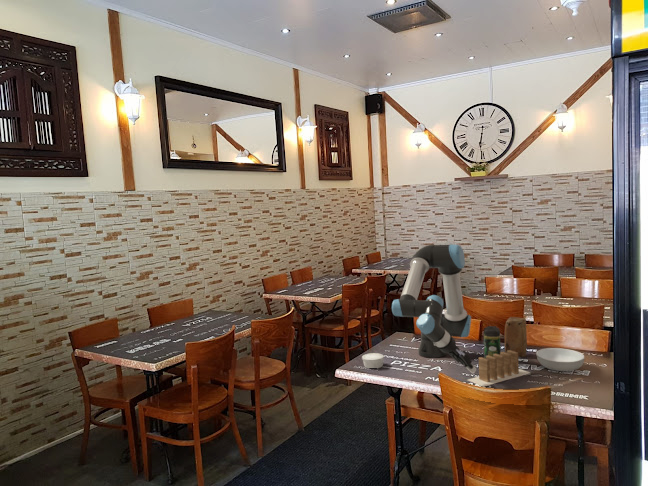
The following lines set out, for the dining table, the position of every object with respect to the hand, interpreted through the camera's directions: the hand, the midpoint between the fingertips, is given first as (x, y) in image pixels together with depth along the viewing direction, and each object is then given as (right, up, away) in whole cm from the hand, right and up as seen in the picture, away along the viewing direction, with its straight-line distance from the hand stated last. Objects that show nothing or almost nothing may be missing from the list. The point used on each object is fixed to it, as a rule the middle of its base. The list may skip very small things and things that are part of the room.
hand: (474, 371), depth 215 cm
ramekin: (-42, -7, +34) cm, 54 cm away
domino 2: (+10, -5, +5) cm, 12 cm away
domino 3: (+14, -4, +7) cm, 16 cm away
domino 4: (+18, -4, +9) cm, 20 cm away
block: (+34, -2, +38) cm, 51 cm away
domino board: (+14, -5, +7) cm, 16 cm away
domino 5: (+22, -4, +11) cm, 25 cm away
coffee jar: (+18, -4, +28) cm, 33 cm away
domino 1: (+6, -5, +3) cm, 8 cm away
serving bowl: (+46, -3, +16) cm, 49 cm away
